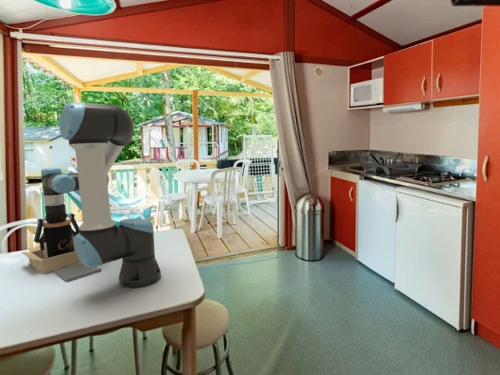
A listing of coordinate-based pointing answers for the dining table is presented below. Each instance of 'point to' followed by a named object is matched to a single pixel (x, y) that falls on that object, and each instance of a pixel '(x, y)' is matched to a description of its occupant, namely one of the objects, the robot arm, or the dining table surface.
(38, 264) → the carton
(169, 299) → the dining table surface
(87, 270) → the plate
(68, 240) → the coffee jar
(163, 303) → the dining table surface
